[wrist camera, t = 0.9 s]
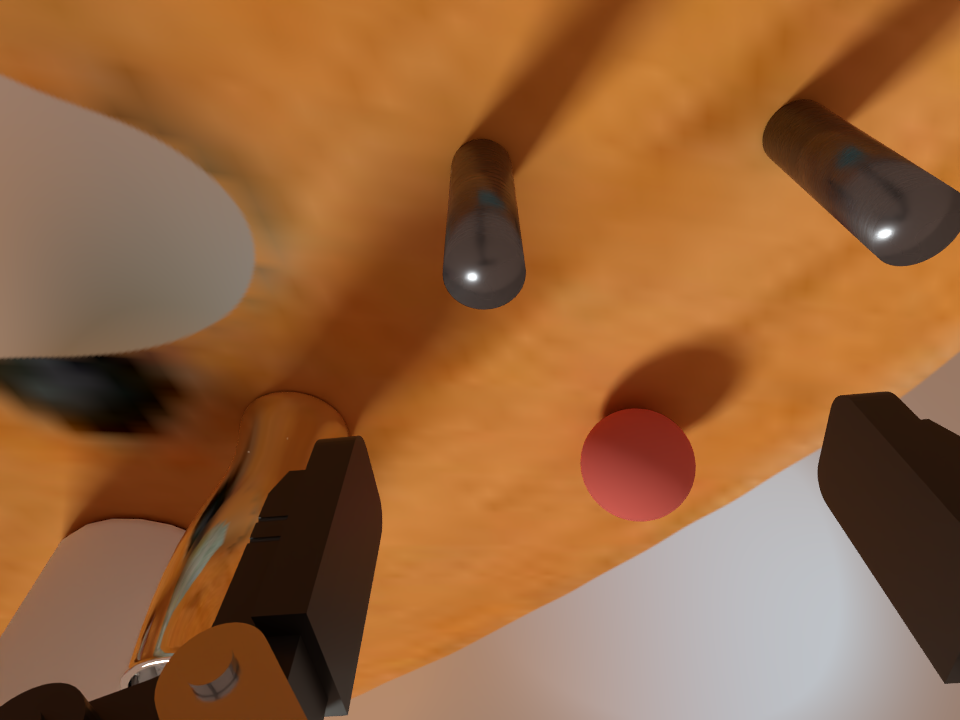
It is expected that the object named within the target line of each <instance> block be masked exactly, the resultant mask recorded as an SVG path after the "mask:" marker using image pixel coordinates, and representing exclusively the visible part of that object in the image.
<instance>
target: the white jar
mask: <svg viewBox="0 0 960 720" xmlns="http://www.w3.org/2000/svg"><path fill="white" fill-rule="evenodd" d="M185 531H186V530H183V529H181V528H178V527H176V526H173V525H169V524H164V523H159V522H154V521H149V520H144V519H109V520H104V521H99V522H95V523H90V524H87V525H85V526H84V527H82V528H80V529H79V530H77V531H75V532H74V533H72V534H70V535H69V536H67V537H66V538H65V539H63V540H62V541H61V542H60V544H59V545H58V547H57V548H56V550H55V552H54V553H53V555H52V556H51V558H50V559H49V561H48V563H47V564H46V566H45V567H44V569H43V571H42V572H41V574H40V575H39V577H38V579H37V580H36V582H35V583H34V585H33V586H32V588H31V590H30V591H29V593H28V594H27V596H26V598H25V599H24V601H23V602H22V604H21V605H20V607H19V609H18V610H17V612H16V613H15V615H14V617H13V618H12V620H11V621H10V623H9V624H8V626H7V628H6V629H5V631H4V632H3V634H2V636H1V637H0V706H2V705H3V704H5V703H6V702H7V701H9V700H10V699H12V698H14V697H16V696H17V695H19V694H21V693H23V692H25V691H27V690H29V689H32V688H35V687H38V686H41V685H44V684H49V683H66V684H70V685H72V686H75V687H76V688H77V689H78V690H80V691H81V693H82V694H83V695H84V697H85V698H86V699H87V700H88V702H89V701H92V700H95V699H97V698H100V697H103V696H106V695H108V694H111V693H114V692H117V691H119V682H120V679H121V677H122V675H123V673H124V671H125V668H126V666H127V663H128V660H129V657H130V655H131V652H132V649H133V646H134V643H135V640H136V637H137V634H138V631H139V629H140V626H141V623H142V620H143V618H144V615H145V612H146V610H147V607H148V605H149V602H150V600H151V597H152V595H153V593H154V590H155V588H156V585H157V583H158V581H159V579H160V577H161V575H162V573H163V571H164V568H165V566H166V564H167V562H168V560H169V558H170V556H171V554H172V552H173V551H174V549H175V547H176V546H177V544H178V543H179V541H180V539H181V538H182V536H183V534H184V533H185Z"/></svg>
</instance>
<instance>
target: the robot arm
mask: <svg viewBox="0 0 960 720" xmlns="http://www.w3.org/2000/svg"><path fill="white" fill-rule="evenodd" d="M818 482H819V487H820V491H821V494H822V496H823V498H824V500H825V502H826V504H827V506H828V507H829V509H830V510H831V512H832V513H833V515H834V516H835V518H836V519H837V521H838V522H839V524H840V525H841V527H842V528H843V530H844V531H845V533H846V534H847V536H848V538H849V539H850V540H851V542H852V544H853V545H854V546H855V548H856V550H857V551H858V553H859V554H860V555H861V557H862V559H863V560H864V562H865V563H866V565H867V566H868V568H869V569H870V571H871V572H872V574H873V575H874V577H875V578H876V580H877V582H878V583H879V584H880V586H881V588H882V589H883V591H884V592H885V594H886V595H887V597H888V598H889V599H890V601H891V603H892V604H893V606H894V607H895V609H896V610H897V612H898V613H899V615H900V616H901V618H902V619H903V621H904V622H905V624H906V625H907V627H908V629H909V630H910V632H911V633H912V635H913V636H914V638H915V639H916V641H917V642H918V644H919V645H920V647H921V648H922V649H923V651H924V653H925V654H926V656H927V657H928V659H929V660H930V662H931V663H932V665H933V666H934V668H935V669H936V671H937V673H938V674H939V675H940V677H941V679H942V680H943V682H944V683H945V684H948V683H960V436H959V435H957V434H955V433H953V432H951V431H950V430H948V429H946V428H944V427H942V426H940V425H938V424H937V423H935V422H933V421H931V420H930V419H923V420H920V419H919V418H918V417H917V416H916V415H915V414H914V413H913V412H912V411H911V410H910V409H909V408H908V407H907V406H906V405H905V404H904V403H903V402H902V401H901V400H900V399H899V398H898V397H897V396H896V395H895V394H893V393H891V392H875V393H863V394H852V395H840V396H838V397H837V398H835V400H834V401H833V403H832V406H831V410H830V414H829V419H828V423H827V428H826V432H825V437H824V441H823V445H822V450H821V455H820V459H819V463H818ZM381 533H382V509H381V502H380V497H379V493H378V490H377V486H376V482H375V478H374V475H373V471H372V467H371V463H370V460H369V456H368V452H367V448H366V445H365V442H364V440H363V438H362V437H361V436H351V437H339V438H328V439H319V440H317V441H316V443H315V445H314V447H313V450H312V453H311V455H310V458H309V461H308V463H307V466H306V469H305V470H295V471H289V472H288V473H287V474H286V475H285V476H284V477H283V478H282V479H281V480H280V481H279V482H278V484H277V485H276V486H275V487H274V488H273V489H272V490H271V491H270V492H269V493H268V496H267V498H266V500H265V503H264V505H263V507H262V510H261V512H260V514H259V517H258V522H257V523H256V524H255V526H254V529H253V531H252V533H251V536H250V543H247V545H246V547H245V550H244V552H243V555H242V557H241V559H240V562H239V564H238V566H237V569H236V571H235V573H234V576H233V578H232V581H231V583H230V585H229V588H228V590H227V592H226V595H225V597H224V599H223V602H222V604H221V606H220V609H219V611H218V614H217V616H216V618H215V621H214V623H213V625H212V627H211V628H209V629H207V630H205V631H203V632H201V633H199V634H197V635H196V636H194V637H193V638H191V639H190V640H188V641H187V642H186V643H185V644H184V645H182V646H181V647H180V648H179V649H178V650H177V651H176V652H175V653H174V654H173V656H172V657H171V658H170V659H169V661H168V662H167V663H166V665H165V667H164V668H163V670H162V672H161V674H160V675H159V676H156V677H154V678H152V679H149V680H147V681H144V682H141V683H139V684H136V685H133V686H130V687H128V688H125V689H122V690H119V691H117V692H114V693H111V694H108V695H106V696H103V697H100V698H97V699H95V700H92V701H89V702H88V700H87V699H86V698H85V697H84V695H83V694H82V693H81V691H80V690H78V689H77V688H76V687H75V686H72V685H70V684H66V683H49V684H44V685H41V686H38V687H35V688H32V689H29V690H27V691H25V692H23V693H21V694H19V695H17V696H16V697H14V698H12V699H10V700H9V701H7V702H6V703H5V704H3V705H2V706H0V720H323V719H324V717H327V716H343V715H348V711H349V705H350V700H351V695H352V689H353V684H354V679H355V673H356V668H357V663H358V657H359V652H360V647H361V641H362V636H363V630H364V625H365V620H366V614H367V609H368V604H369V598H370V593H371V588H372V582H373V577H374V571H375V566H376V561H377V555H378V550H379V545H380V539H381Z"/></svg>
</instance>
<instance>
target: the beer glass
mask: <svg viewBox="0 0 960 720" xmlns="http://www.w3.org/2000/svg"><path fill="white" fill-rule="evenodd" d="M339 437H349V435H348V429H347V426H346V423H345V421H344V419H343V418H342V416H341V415H340V414H339V413H338V412H337V411H336V410H335V409H334V408H333V407H332V406H330V405H329V404H327V403H326V402H324V401H322V400H320V399H318V398H316V397H313V396H311V395H307V394H303V393H298V392H275V393H270V394H267V395H264V396H262V397H260V398H258V399H256V400H255V401H253V402H252V403H251V404H250V405H249V406H248V408H247V409H246V410H245V412H244V414H243V416H242V419H241V423H240V428H239V434H238V440H237V446H236V450H235V454H234V456H233V459H232V462H231V464H230V466H229V468H228V470H227V472H226V473H225V475H224V476H223V478H222V479H221V481H220V482H219V484H218V485H217V487H216V488H215V489H214V491H213V492H212V494H211V495H210V496H209V498H208V499H207V501H206V502H205V503H204V505H203V506H202V508H201V509H200V511H199V512H198V513H197V515H196V516H195V518H194V519H193V521H192V522H191V524H190V525H189V526H188V528H187V530H186V531H185V533H184V534H183V536H182V538H181V539H180V541H179V543H178V544H177V546H176V547H175V549H174V551H173V552H172V554H171V556H170V558H169V560H168V562H167V564H166V566H165V568H164V571H163V573H162V575H161V577H160V579H159V581H158V583H157V585H156V588H155V590H154V593H153V595H152V597H151V600H150V602H149V605H148V607H147V610H146V612H145V615H144V618H143V620H142V623H141V626H140V629H139V631H138V634H137V637H136V640H135V643H134V646H133V649H132V652H131V655H130V657H129V660H128V663H127V666H126V668H125V671H124V673H123V675H122V677H121V679H120V682H119V690H122V689H125V688H128V687H130V686H133V685H136V684H139V683H141V682H144V681H147V680H149V679H152V678H154V677H156V676H159V675H160V674H161V672H162V670H163V668H164V667H165V665H166V663H167V662H168V661H169V659H170V658H171V657H172V656H173V654H174V653H175V652H176V651H177V650H178V649H179V648H180V647H181V646H182V645H184V644H185V643H186V642H187V641H188V640H190V639H191V638H193V637H194V636H196V635H197V634H199V633H201V632H203V631H205V630H207V629H209V628H211V627H212V625H213V623H214V621H215V618H216V616H217V614H218V611H219V609H220V606H221V604H222V602H223V599H224V597H225V595H226V592H227V590H228V588H229V585H230V583H231V581H232V578H233V576H234V573H235V571H236V569H237V566H238V564H239V562H240V559H241V557H242V555H243V552H244V550H245V547H246V545H247V543H250V536H251V533H252V531H253V529H254V526H255V524H256V523H257V522H258V517H259V514H260V512H261V510H262V507H263V505H264V503H265V500H266V498H267V496H268V493H269V492H270V491H271V490H272V489H273V488H274V487H275V486H276V485H277V484H278V482H279V481H280V480H281V479H282V478H283V477H284V476H285V475H286V474H287V473H288V472H289V471H295V470H305V469H306V466H307V463H308V461H309V458H310V455H311V453H312V450H313V447H314V445H315V443H316V441H317V440H319V439H328V438H339Z"/></svg>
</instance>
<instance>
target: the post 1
mask: <svg viewBox="0 0 960 720" xmlns="http://www.w3.org/2000/svg"><path fill="white" fill-rule="evenodd" d="M525 276H526V269H525V262H524V254H523V247H522V239H521V232H520V224H519V217H518V209H517V202H516V194H515V187H514V179H513V172H512V165H511V160H510V157H509V155H508V154H507V152H506V151H505V149H504V148H503V147H501V146H500V145H499V144H497V143H495V142H493V141H491V140H486V139H477V140H473V141H470V142H468V143H466V144H464V145H463V146H462V147H461V148H460V149H459V150H458V151H457V152H456V154H455V156H454V158H453V161H452V165H451V177H450V189H449V201H448V214H447V226H446V238H445V250H444V263H443V280H444V284H445V286H446V288H447V290H448V292H449V293H450V294H451V296H452V297H453V298H454V299H456V300H457V301H458V302H460V303H461V304H463V305H465V306H468V307H471V308H475V309H493V308H497V307H500V306H502V305H505V304H506V303H508V302H510V301H511V300H512V299H513V298H515V297H516V296H517V294H518V293H519V292H520V290H521V289H522V287H523V284H524V281H525Z"/></svg>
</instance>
